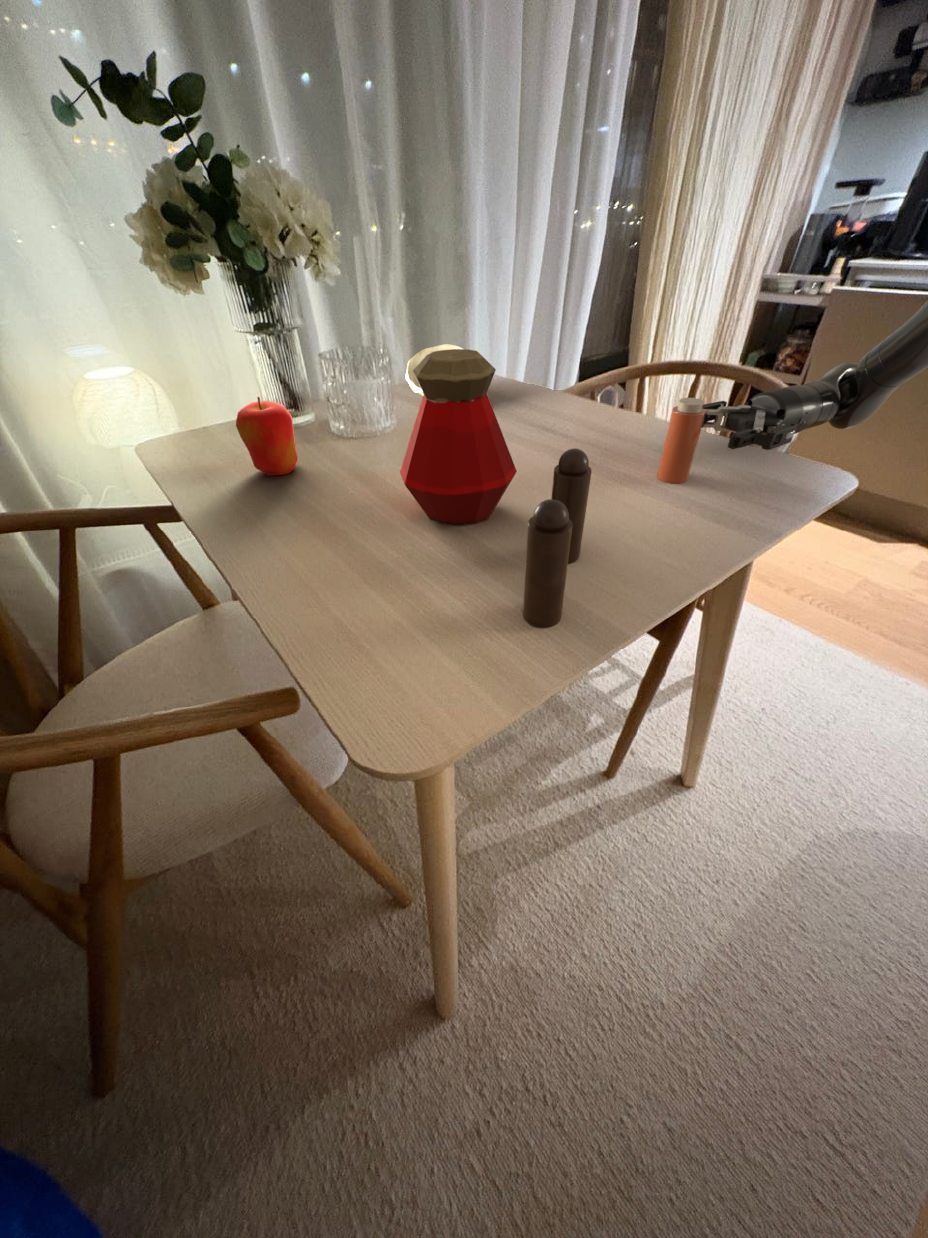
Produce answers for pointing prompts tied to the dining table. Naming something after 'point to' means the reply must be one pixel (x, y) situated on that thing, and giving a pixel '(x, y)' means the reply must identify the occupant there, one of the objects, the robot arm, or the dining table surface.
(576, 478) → the post
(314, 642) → the dining table surface
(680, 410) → the shaker
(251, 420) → the apple
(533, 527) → the post
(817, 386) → the robot arm
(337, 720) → the dining table surface
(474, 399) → the bottle
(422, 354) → the bowl
